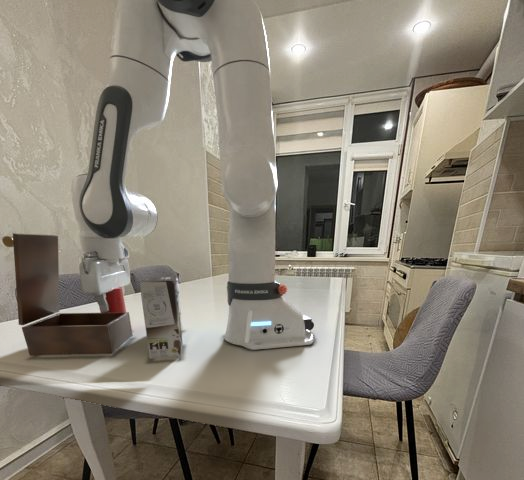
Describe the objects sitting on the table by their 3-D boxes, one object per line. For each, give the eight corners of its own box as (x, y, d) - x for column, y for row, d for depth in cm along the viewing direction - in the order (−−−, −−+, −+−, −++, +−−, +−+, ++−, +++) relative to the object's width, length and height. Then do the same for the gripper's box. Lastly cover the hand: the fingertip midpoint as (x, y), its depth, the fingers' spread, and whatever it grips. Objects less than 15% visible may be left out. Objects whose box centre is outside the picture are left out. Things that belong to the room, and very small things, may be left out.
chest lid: (58, 235, 64) (32, 230, 63) (17, 234, 52) (-16, 227, 52) (59, 311, 70) (35, 307, 69) (22, 325, 58) (-7, 320, 57)
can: (132, 329, 81) (125, 286, 77) (124, 336, 75) (116, 289, 71) (110, 330, 80) (102, 286, 76) (100, 336, 75) (91, 289, 71)
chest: (133, 338, 73) (129, 312, 71) (112, 356, 62) (106, 325, 59) (64, 339, 72) (58, 313, 70) (30, 358, 60) (21, 327, 58)
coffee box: (182, 359, 60) (174, 280, 54) (149, 362, 59) (137, 281, 53) (183, 345, 68) (177, 275, 63) (155, 347, 67) (145, 276, 62)
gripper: (96, 252, 61) (108, 316, 66) (130, 250, 80) (138, 300, 85) (65, 252, 61) (80, 317, 65) (107, 250, 80) (116, 300, 85)
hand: (113, 307), depth 75 cm, fingers open, 8 cm apart
